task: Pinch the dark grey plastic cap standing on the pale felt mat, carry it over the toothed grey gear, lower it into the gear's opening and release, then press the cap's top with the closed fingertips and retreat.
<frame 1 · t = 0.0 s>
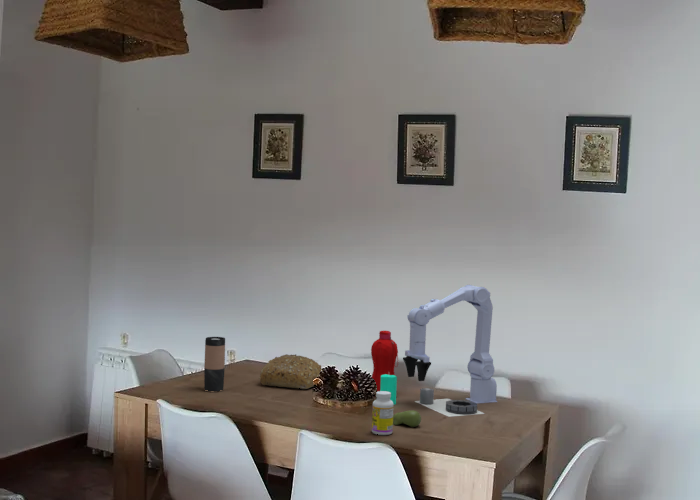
hand: (416, 378, 287), 10 cm above the table, tool pointing down, fingers open, 7 cm apart
cap: (426, 403, 292), resting on mat
mat: (448, 408, 287), on the table
pear: (405, 426, 261), on the table
water bottle: (384, 396, 303), on the table
supplement bottle: (382, 433, 250), on the table
toothed grey gear: (461, 410, 282), resting on mat
travel mug: (213, 390, 303), on the table
bread: (292, 385, 319), on the table
candle: (387, 404, 290), on the table
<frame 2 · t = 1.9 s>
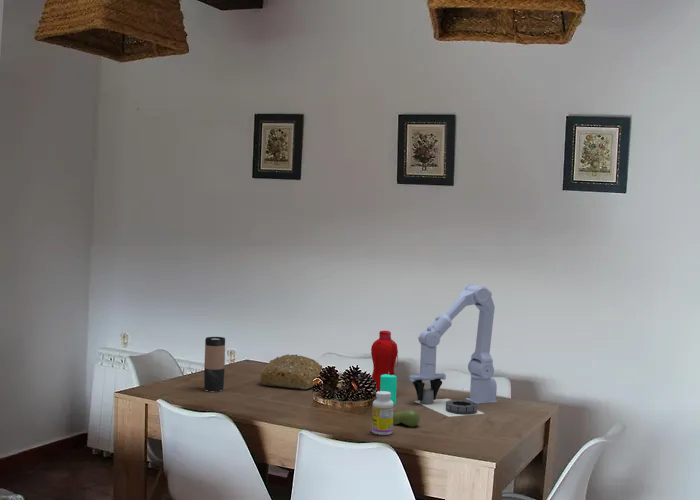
hand: (426, 399, 292), 2 cm above the table, tool pointing down, fingers closed on cap, 5 cm apart
cap: (426, 403, 292), resting on mat, touching gripper
everything else where it was.
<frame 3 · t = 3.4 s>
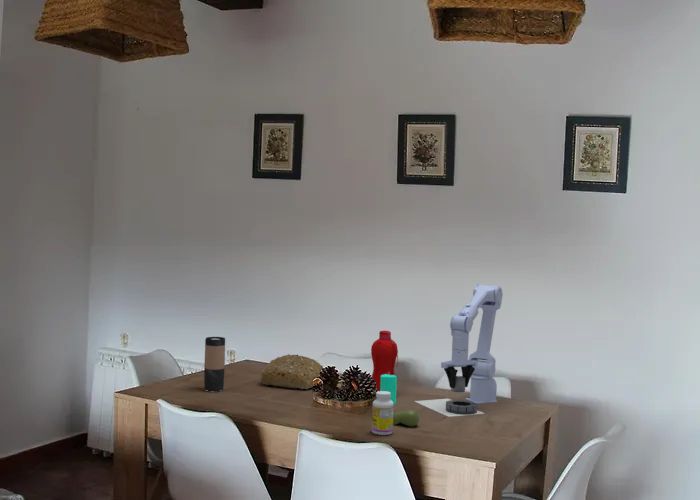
hand: (458, 387, 283), 9 cm above the table, tool pointing down, fingers closed on cap, 5 cm apart
cap: (457, 391, 283), point 7 cm above the table, touching gripper
everything else where it was.
when the fingers open (4 cm above the table, at t = 5.0 s): cap stays where it is, resting on toothed grey gear.
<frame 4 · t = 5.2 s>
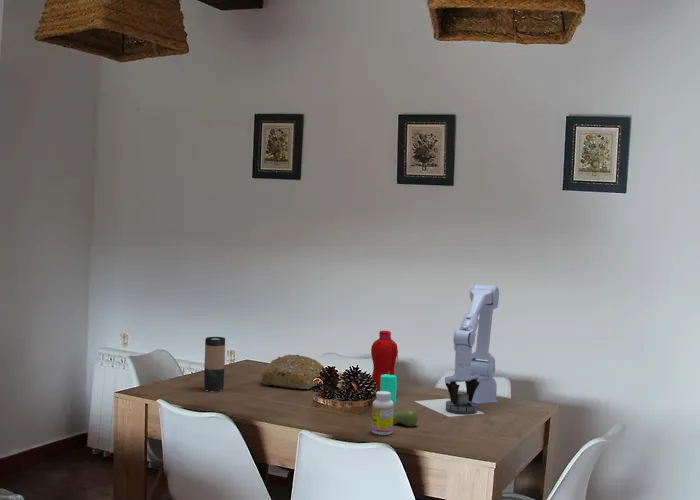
hand: (461, 401, 282), 4 cm above the table, tool pointing down, fingers open, 7 cm apart
cap: (460, 407, 282), point 1 cm above the table, touching toothed grey gear
everything else where it was.
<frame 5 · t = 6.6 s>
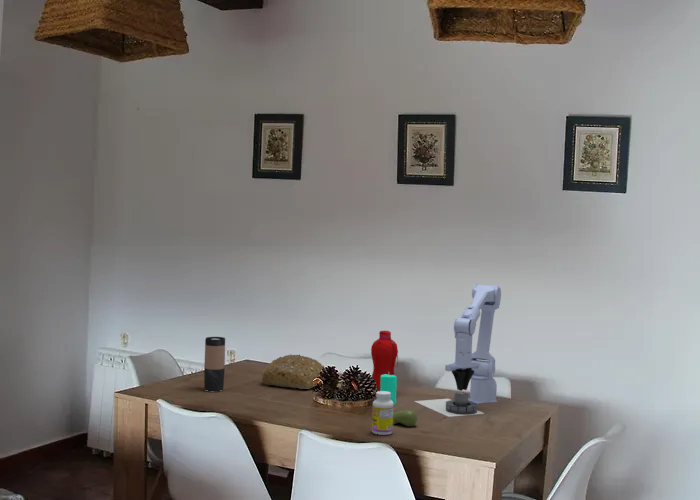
hand: (462, 389, 282), 8 cm above the table, tool pointing down, fingers closed
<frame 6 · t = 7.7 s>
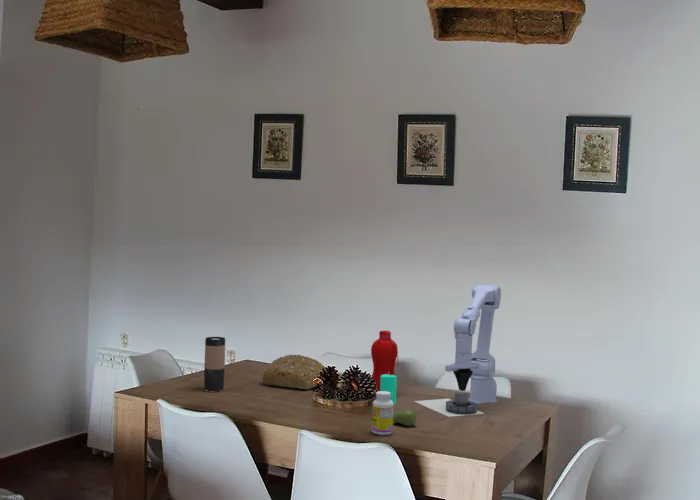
hand: (462, 390, 282), 8 cm above the table, tool pointing down, fingers closed
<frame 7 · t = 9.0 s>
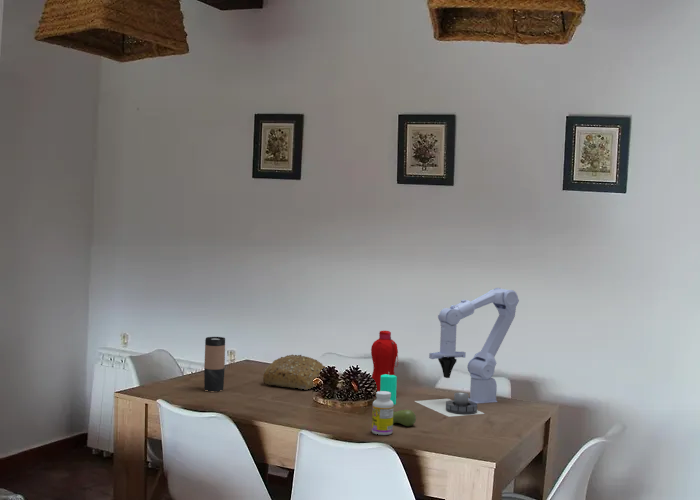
hand: (446, 377, 293), 10 cm above the table, tool pointing down, fingers closed
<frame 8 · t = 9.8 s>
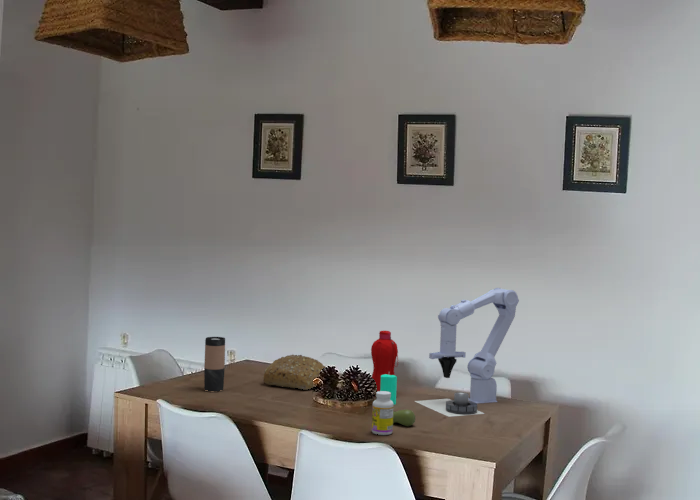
hand: (446, 377, 293), 10 cm above the table, tool pointing down, fingers closed
at the end: cap 0.2 cm off-centre on the toothed grey gear, point 1.0 cm above the toothed grey gear's base; cap tilted 0°; the gripper is holding nothing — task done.
